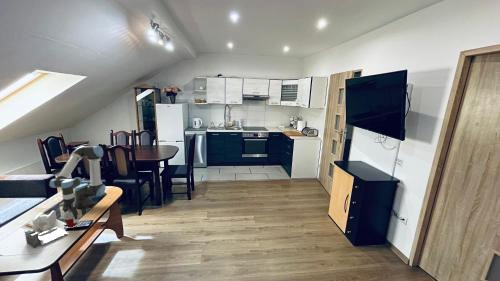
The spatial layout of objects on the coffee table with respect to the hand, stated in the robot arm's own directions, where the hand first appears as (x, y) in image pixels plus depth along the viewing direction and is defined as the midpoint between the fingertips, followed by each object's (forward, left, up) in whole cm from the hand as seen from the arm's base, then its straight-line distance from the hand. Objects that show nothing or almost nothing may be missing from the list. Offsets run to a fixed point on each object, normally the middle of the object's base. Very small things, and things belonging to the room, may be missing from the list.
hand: (71, 220), depth 184 cm
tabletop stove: (+17, 0, -7) cm, 19 cm away
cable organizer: (+10, -21, -7) cm, 24 cm away
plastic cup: (0, 0, -7) cm, 7 cm away
